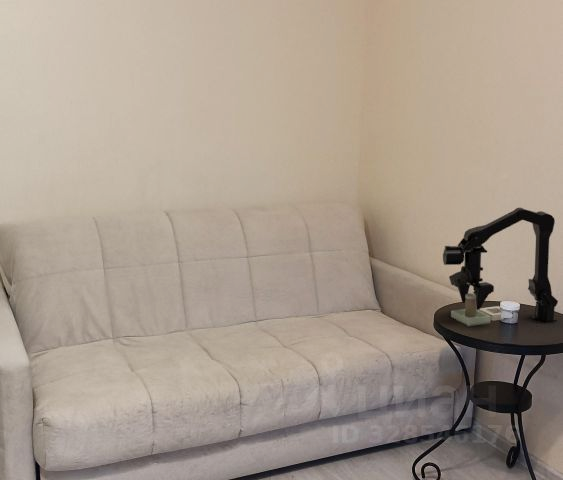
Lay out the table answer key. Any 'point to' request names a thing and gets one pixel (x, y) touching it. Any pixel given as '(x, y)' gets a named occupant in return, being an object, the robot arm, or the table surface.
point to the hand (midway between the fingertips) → (470, 305)
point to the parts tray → (479, 319)
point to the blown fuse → (470, 306)
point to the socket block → (492, 312)
